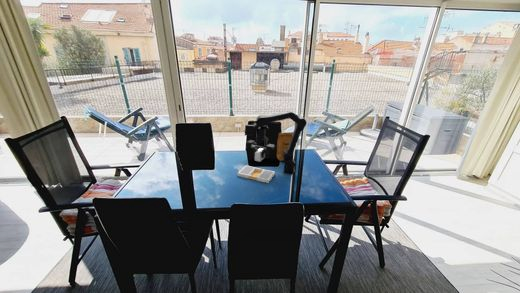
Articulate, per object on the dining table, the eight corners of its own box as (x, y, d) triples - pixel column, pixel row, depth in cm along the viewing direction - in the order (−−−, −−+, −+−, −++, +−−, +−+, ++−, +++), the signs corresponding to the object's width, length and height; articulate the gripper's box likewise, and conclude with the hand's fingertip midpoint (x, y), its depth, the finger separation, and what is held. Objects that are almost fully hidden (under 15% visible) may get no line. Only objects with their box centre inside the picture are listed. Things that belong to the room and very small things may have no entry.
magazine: (273, 156, 170) (265, 140, 164) (257, 163, 171) (249, 147, 165) (272, 154, 173) (264, 138, 168) (257, 161, 175) (249, 145, 169)
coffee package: (294, 161, 166) (296, 134, 158) (278, 162, 165) (279, 134, 156) (290, 156, 175) (292, 130, 167) (275, 156, 174) (277, 130, 165)
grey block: (265, 157, 149) (265, 149, 147) (260, 161, 142) (260, 153, 140) (259, 155, 151) (260, 147, 148) (254, 160, 144) (254, 152, 142)
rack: (274, 174, 148) (274, 171, 147) (268, 183, 137) (268, 180, 136) (245, 167, 156) (245, 165, 155) (237, 175, 145) (237, 173, 144)
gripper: (278, 134, 143) (277, 155, 149) (253, 129, 150) (253, 150, 157) (272, 139, 134) (271, 162, 140) (245, 134, 141) (245, 156, 147)
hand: (260, 157), depth 146 cm, fingers closed on grey block, 4 cm apart
